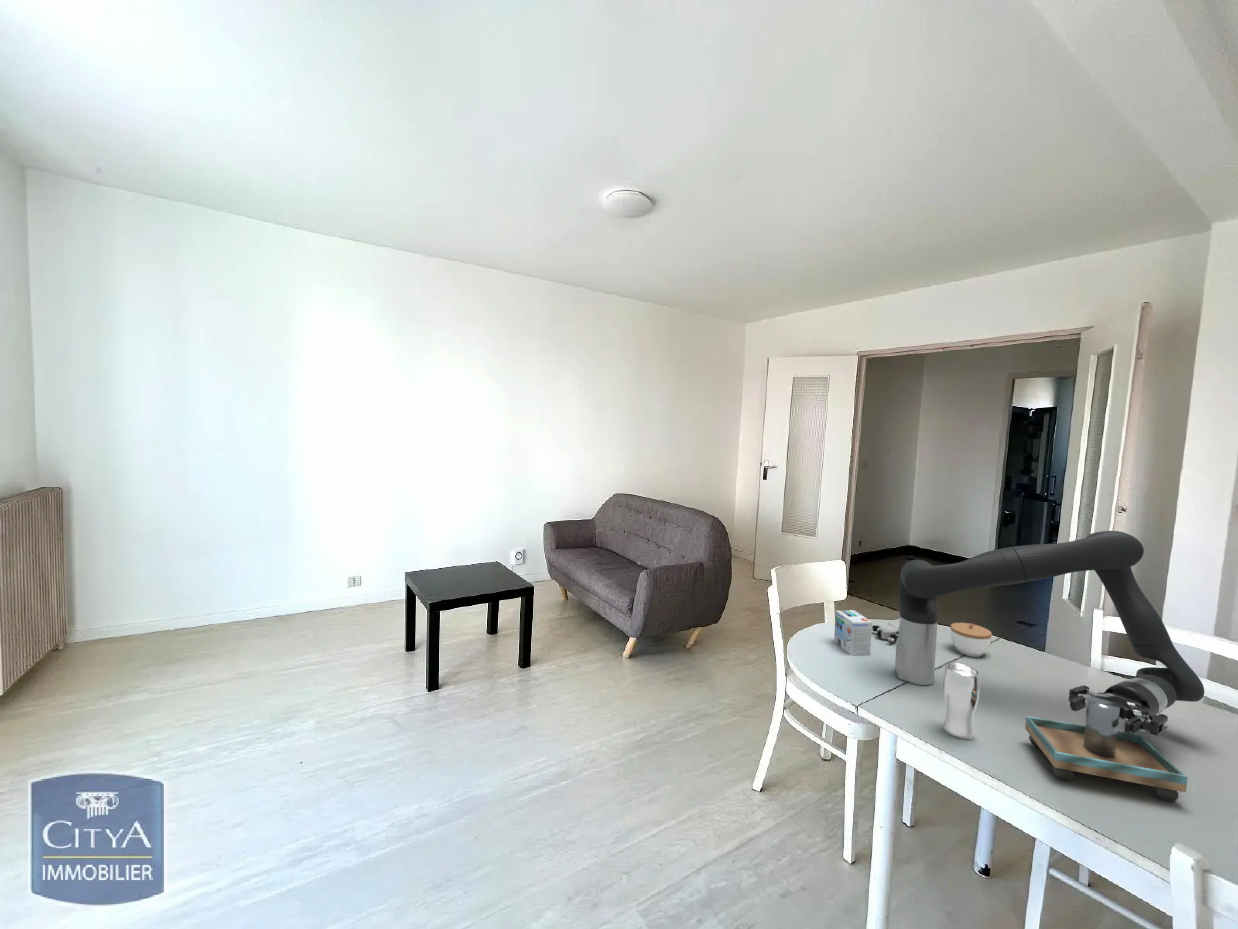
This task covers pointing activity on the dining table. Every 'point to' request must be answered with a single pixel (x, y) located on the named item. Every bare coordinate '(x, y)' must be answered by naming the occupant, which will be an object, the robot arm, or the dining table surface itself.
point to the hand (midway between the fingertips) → (1099, 716)
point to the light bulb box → (853, 632)
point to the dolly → (1129, 763)
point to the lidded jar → (970, 639)
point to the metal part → (1101, 727)
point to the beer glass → (961, 699)
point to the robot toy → (888, 630)
